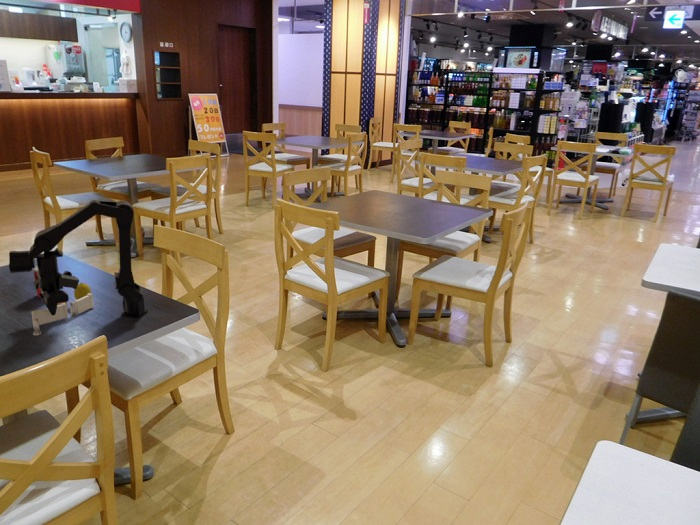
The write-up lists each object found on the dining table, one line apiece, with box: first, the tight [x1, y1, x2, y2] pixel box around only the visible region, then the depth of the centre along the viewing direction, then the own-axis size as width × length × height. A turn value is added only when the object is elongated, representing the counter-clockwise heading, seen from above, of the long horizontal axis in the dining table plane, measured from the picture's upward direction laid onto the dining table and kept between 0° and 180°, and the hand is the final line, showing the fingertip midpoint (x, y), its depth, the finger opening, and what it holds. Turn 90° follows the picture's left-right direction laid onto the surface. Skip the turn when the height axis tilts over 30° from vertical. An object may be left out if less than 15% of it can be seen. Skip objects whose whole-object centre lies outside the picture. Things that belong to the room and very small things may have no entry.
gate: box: [31, 303, 69, 326], centre depth 181 cm, size 10×2×5 cm, turn 138°
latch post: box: [32, 318, 43, 337], centre depth 172 cm, size 2×2×5 cm
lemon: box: [73, 282, 92, 301], centre depth 196 cm, size 6×6×8 cm
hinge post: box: [69, 301, 77, 318], centre depth 186 cm, size 2×2×5 cm
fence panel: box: [73, 293, 95, 315], centre depth 190 cm, size 2×7×5 cm, turn 162°
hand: (53, 314), depth 180 cm, fingers closed
